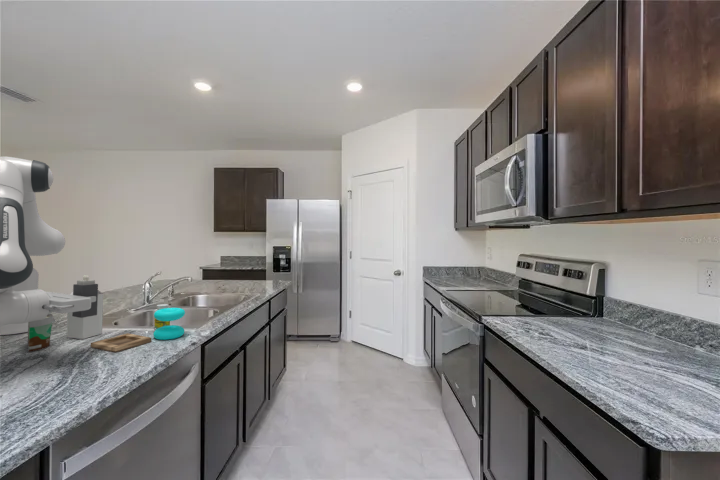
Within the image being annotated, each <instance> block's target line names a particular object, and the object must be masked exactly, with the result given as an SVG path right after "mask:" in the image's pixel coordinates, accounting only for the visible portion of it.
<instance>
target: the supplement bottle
mask: <svg viewBox="0 0 720 480" xmlns="http://www.w3.org/2000/svg"><path fill="white" fill-rule="evenodd" d="M164 308H169V304H167V303H163V304H160V303H159V304H157V305H156V310H155V311H154V313H155V312H156V311H157V310H160V309H164ZM153 317H154V316H153ZM153 319H154V321H153V323H154V327H153V329H154V328H156V329H158V328H160V327H163V326H168V325H171V321H159V320H157V319H155V317H154V318H153ZM156 329H154V331H155V330H156Z"/></svg>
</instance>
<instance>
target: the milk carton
mask: <svg viewBox="0 0 720 480" xmlns="http://www.w3.org/2000/svg"><path fill="white" fill-rule="evenodd" d="M69 295H73V291H71V292H70V293H69ZM103 313H104V293H103V292H101V291H100V290H99V289H98V301H97V315H94V316H89V317H83V318H79V317H74V316H72V312H70V313H66V314H67V318H66V319H67V321H66V338H69V339H78V340H84V339H88V338H91V337H95V336H98V335H102V334H103V316H104V315H103Z"/></svg>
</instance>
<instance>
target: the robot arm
mask: <svg viewBox="0 0 720 480" xmlns="http://www.w3.org/2000/svg"><path fill="white" fill-rule="evenodd" d="M53 182H54V174H53V172H52V170H51V168H50V166H49V165H48V164H47V163H45V162H43V161H38V160H34V159H33V160H30V159H25V158H20V157H13V156H5V155H4V156H2V155H1V156H0V336H4V335H5V336H6V335H16V334H21V333H22V334H23V333H28V322H33V321H38V320H43V319H45V318H46V317H47V315H48V314H53V313H55V314H56V313H57V314H68V313H70V312H78V311H85V310H89V309H90V308H91V302H95V301H96V296H87V297H83V296H76V295H69V294H70V293H69V294H68V293H62V292H57V291H55V292H54V291H45V290H44V289H40V288H39V272H38V270H37V269H36V268H34V265H33V264H34V263H33V260H32V258H31V257H32V256H33V257H38V256H39V257H40V256H42V257H43V256H49V255H57V254H59V253H60V252H61V251H63V249H64V247H65V245H66V239H65V236H64V234H63V233H62V232H61V231H60V230H59V229H56V228H54V227H52V226H51V225H49V224H48V223H47V222H46V221H45V220H43V218H42V217H41V215H40V213H39V210H38V205H37V198H36V193H42V192H43V193H45V192H46V191H48V190H49V189H50V187H51V186H52V185H53Z"/></svg>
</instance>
